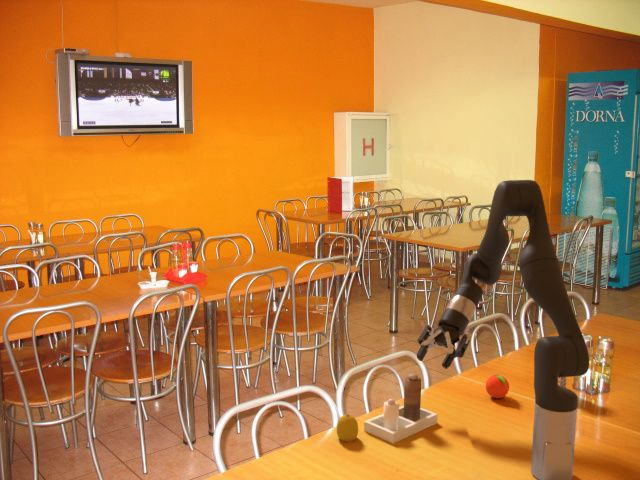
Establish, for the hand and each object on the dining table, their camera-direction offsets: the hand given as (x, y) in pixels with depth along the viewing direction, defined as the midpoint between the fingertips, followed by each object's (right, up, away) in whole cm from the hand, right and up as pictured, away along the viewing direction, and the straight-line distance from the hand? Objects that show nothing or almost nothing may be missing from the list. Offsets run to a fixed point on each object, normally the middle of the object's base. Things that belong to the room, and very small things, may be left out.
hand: (431, 363), depth 188 cm
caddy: (-9, -17, -6) cm, 20 cm away
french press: (+41, -13, +23) cm, 49 cm away
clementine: (+23, -14, +18) cm, 32 cm away
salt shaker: (-12, -16, -9) cm, 22 cm away
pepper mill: (-6, -15, -3) cm, 17 cm away
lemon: (-24, -18, -13) cm, 32 cm away
